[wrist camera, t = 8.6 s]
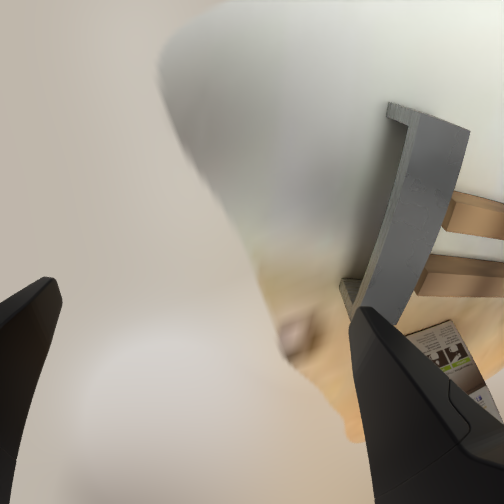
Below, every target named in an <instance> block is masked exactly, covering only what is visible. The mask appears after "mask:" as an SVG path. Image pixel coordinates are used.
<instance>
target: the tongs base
mask: <svg viewBox="0 0 504 504" xmlns="http://www.w3.org/2000/svg"><path fill="white" fill-rule="evenodd" d="M414 291H415V293H416V294H417V296H440V297H504V263H502V262H493V261H485V260H477V259H468V258H459V257H451V256H442V255H433V254H430V255H429V257H428V260H427V262H426V264H425V266H424V269H423V271H422V273H421V275H420V278H419V280H418V282H417V284H416V286H415V288H414Z"/></svg>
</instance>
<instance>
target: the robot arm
mask: <svg viewBox="0 0 504 504" xmlns="http://www.w3.org/2000/svg"><path fill="white" fill-rule="evenodd" d="M61 308H62V297H61V293H60V291H59V287H58V284H57V281H56V280H55V279H54V278H51V277H42V278H40V279H39V280H37V281H35V282H34V283H32V284H30V285H29V286H27V287H25V288H24V289H22V290H20V291H19V292H17V293H15V294H14V295H12V296H10V297H9V298H7V299H6V300H4V301H3V302H1V303H0V504H9V503H10V495H11V488H12V482H13V477H14V471H15V466H16V459H17V456H18V451H19V447H20V442H21V437H22V434H23V430H24V426H25V422H26V419H27V415H28V412H29V408H30V405H31V402H32V398H33V394H34V392H35V389H36V385H37V382H38V379H39V377H40V374H41V371H42V368H43V365H44V362H45V360H46V357H47V354H48V351H49V348H50V345H51V342H52V338H53V335H54V331H55V328H56V324H57V321H58V317H59V314H60V311H61ZM349 341H350V350H351V360H352V370H353V378H354V383H355V388H356V393H357V398H358V403H359V408H360V413H361V418H362V424H363V429H364V435H365V440H366V446H367V452H368V458H369V464H370V471H371V476H372V484H373V492H374V498H375V504H504V424H502V423H501V422H500V421H499V420H498V419H496V418H495V417H494V416H493V415H491V414H490V413H489V412H488V411H487V410H485V409H484V408H483V407H482V406H480V405H479V404H478V403H477V402H476V401H475V400H473V399H472V398H471V397H470V396H469V395H468V394H467V393H465V392H464V391H463V390H462V389H461V388H460V387H459V386H458V385H457V384H456V383H455V382H454V381H453V380H452V379H449V377H448V376H447V375H446V374H445V373H444V372H443V371H442V370H441V369H440V368H439V367H438V366H437V365H436V364H435V363H433V362H432V361H431V360H430V359H429V358H428V357H427V356H426V355H425V354H424V353H423V352H422V351H421V350H419V349H418V348H417V347H416V346H415V345H414V344H413V343H412V342H411V341H410V340H409V339H407V338H406V337H405V336H404V335H403V334H402V333H401V332H400V331H399V330H398V329H396V328H395V327H394V326H393V325H392V324H391V323H390V322H389V321H388V320H386V319H385V318H384V317H383V316H382V315H381V314H380V313H379V312H377V311H376V310H375V309H374V308H373V307H371V306H359V307H358V308H357V309H356V311H355V314H354V316H353V318H352V321H351V323H350V326H349Z"/></svg>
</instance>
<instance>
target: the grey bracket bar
mask: <svg viewBox="0 0 504 504" xmlns="http://www.w3.org/2000/svg"><path fill="white" fill-rule="evenodd" d="M386 117H388V118H391V119H393V120H396V121H398V122H400V123H403V124H405V125H407V126H408V131H407V135H406V139H405V144H404V148H403V152H402V156H401V160H400V164H399V167H398V171H397V175H396V179H395V182H394V186H393V189H392V193H391V196H390V200H389V203H388V206H387V210H386V213H385V216H384V219H383V222H382V226H381V229H380V232H379V235H378V238H377V241H376V244H375V247H374V250H373V252H372V255H371V258H370V261H369V264H368V267H367V269H366V272H365V275H364V277H363V280H359V279H344V278H342V281H341V284H340V287H339V290H340V293H341V295H342V298H343V301H344V304H345V307H346V309H347V312H348V315H349V318H350V321H352V318H353V316H354V314H355V311H356V309H357V308H358V307H359V306H371V307H373V308H374V309H375V310H376V311H377V312H379V313H380V314H381V315H382V316H383V317H384V318H385V319H386V320H388V321H389V322H390V323H391V324H392V325H396V324H397V322H398V320H399V318H400V317H401V315H402V313H403V311H404V309H405V307H406V305H407V303H408V301H409V299H410V297H411V295H412V293H413V290H414V288H415V286H416V284H417V282H418V280H419V278H420V275H421V273H422V271H423V269H424V266H425V264H426V262H427V260H428V257H429V255H430V253H431V250H432V248H433V245H434V243H435V240H436V238H437V235H438V233H439V230H440V228H441V225H442V222H443V220H444V217H445V214H446V211H447V209H448V206H449V203H450V200H451V197H452V194H453V191H454V188H455V185H456V182H457V178H458V175H459V172H460V169H461V165H462V162H463V158H464V154H465V151H466V147H467V143H468V139H469V135H470V131H469V130H467V129H465V128H462V127H460V126H457V125H455V124H452V123H450V122H447V121H445V120H442V119H439V118H437V117H434V116H431V115H428V114H425V113H422V112H419V111H416V110H413V109H410V108H407V107H404V106H400V105H397V104H394V103H390V102H389V104H388V109H387V114H386Z"/></svg>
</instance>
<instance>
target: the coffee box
mask: <svg viewBox="0 0 504 504" xmlns="http://www.w3.org/2000/svg"><path fill="white" fill-rule="evenodd" d="M405 337H406V338H407V339H409V340H410V341H411V342H412V343H413V344H414V345H415V346H416V347H417V348H418V349H419V350H421V351H422V352H423V353H424V354H425V355H426V356H427V357H428V358H429V359H430V360H431V361H432V362H433V363H435V364H436V365H437V366H438V367H439V368H440V369H441V370H442V371H443V372H444V373H445V374H446V375H447V376H448V377H449V379H452V380H453V381H454V382H455V383H456V384H457V385H458V386H459V387H460V388H461V389H462V390H463V391H464V392H465V393H467V394H468V395H469V396H470V397H471V398H472V399H473V400H475V401H476V402H477V403H478V404H479V405H480V406H482V407H483V408H484V409H485V410H487V411H488V412H489V413H490V414H491V415H493V416H494V417H495V418H496V419H498V420H499V421H500V422H501V423H502V424H504V423H503V421H502V418H501V416H500V414H499V411H498V409H497V407H496V405H495V402H494V400H493V398H492V396H491V393H490V391H489V389H488V387H487V385H486V383H485V381H484V379H483V377H482V375H481V373H480V371H479V369H478V367H477V365H476V363H475V361H474V360H473V357H472V356H471V354H470V352H469V350H468V348H467V347H466V345H465V343H464V341H463V339H462V338H461V336H460V334H459V332H458V330H457V329H456V327H455V325H454V323H453V322H452V321H448V322H445V323H442V324H440V325H437V326H434V327H431V328H429V329H426V330H423V331H420V332H417V333H414V334H411V335H408V336H405Z"/></svg>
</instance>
